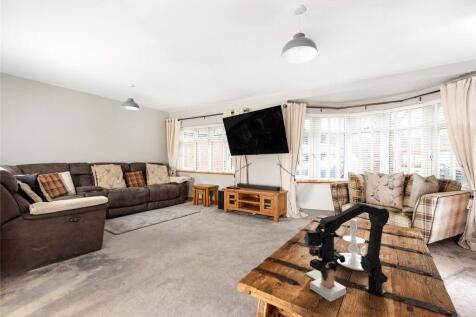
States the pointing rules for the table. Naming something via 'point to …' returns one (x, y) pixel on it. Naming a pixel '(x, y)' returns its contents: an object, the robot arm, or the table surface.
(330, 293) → the white square frame
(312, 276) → the pad
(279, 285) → the table surface
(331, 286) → the plug
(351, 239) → the candlestick
